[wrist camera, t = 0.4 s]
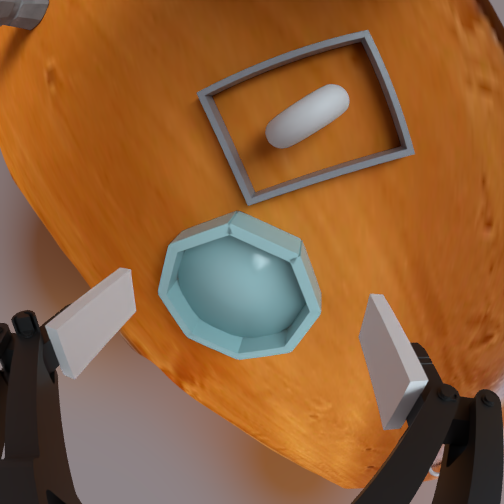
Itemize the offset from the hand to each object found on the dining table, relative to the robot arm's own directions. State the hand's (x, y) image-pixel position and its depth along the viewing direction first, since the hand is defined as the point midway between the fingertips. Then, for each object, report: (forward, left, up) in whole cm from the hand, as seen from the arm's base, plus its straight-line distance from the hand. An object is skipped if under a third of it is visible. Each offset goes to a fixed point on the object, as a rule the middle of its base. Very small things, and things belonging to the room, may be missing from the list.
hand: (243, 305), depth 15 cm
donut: (-6, -7, -24) cm, 26 cm away
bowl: (+12, +13, -24) cm, 30 cm away
